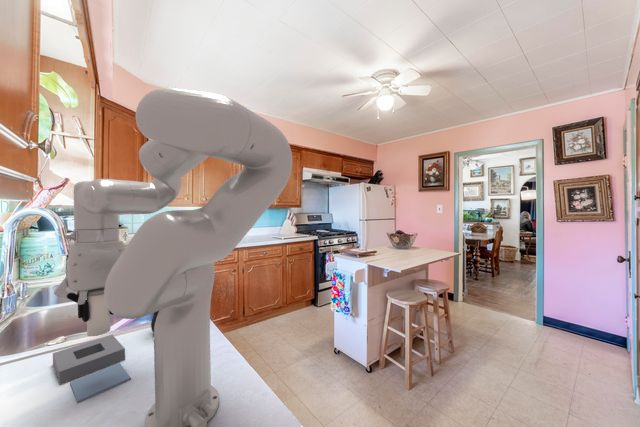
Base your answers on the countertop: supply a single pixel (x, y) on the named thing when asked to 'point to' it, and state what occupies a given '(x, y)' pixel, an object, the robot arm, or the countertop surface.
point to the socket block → (87, 358)
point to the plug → (97, 313)
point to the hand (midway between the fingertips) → (98, 315)
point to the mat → (99, 382)
